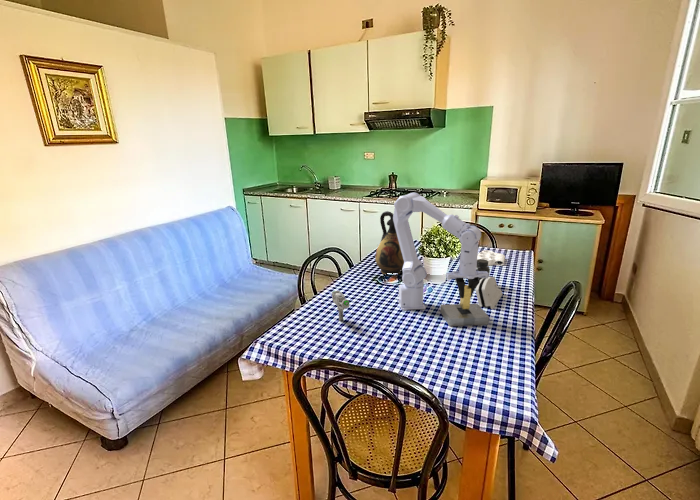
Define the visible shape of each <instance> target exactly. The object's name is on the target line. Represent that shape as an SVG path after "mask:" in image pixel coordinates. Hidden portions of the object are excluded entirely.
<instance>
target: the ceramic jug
mask: <svg viewBox="0 0 700 500" xmlns="http://www.w3.org/2000/svg"><path fill="white" fill-rule="evenodd" d="M393 214H394V212H392V211H388V210H387V211H384V212H382V213H381V214H380V216H379V217H380V219H379V222H380V226H381V230H382V236H381V239H380V242H379V244H378V246H377V248H376V250H375V257H374V258H375V264H376V266H377V267H378V268H379V269H380V273H382V274H383V275H384V274H387V273H392V274H393V273H398V274H399V275H400V274H401V271H402V268H403V265H404V260H403V256H402V252H401V248H400V244H399V241H398V237H397V233H396V229H395V225H394V221H393ZM385 217H389V219H388V220H387V222H386V223H385ZM386 225H387V226H388V229H387V227H386Z"/></svg>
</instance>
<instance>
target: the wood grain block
mask: <svg viewBox="0 0 700 500" xmlns="http://www.w3.org/2000/svg"><path fill="white" fill-rule="evenodd" d="M459 299H460V300H459V304H460V306H461V308H462V309H470V304H471V299H472V297H471V288H470V287H469V286H468V284H465V287H464V296H463V298H461V297H460V298H459Z"/></svg>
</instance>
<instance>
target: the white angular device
mask: <svg viewBox="0 0 700 500" xmlns="http://www.w3.org/2000/svg"><path fill="white" fill-rule="evenodd" d="M475 294H476V299H477V303H478V305H479V306H480V307H481V308H482V307H484V306H485V307H490V309H491V310H493V309H494V308H495V307H496V306H497V304H498V302H499V300H501V298H502V296H503V295H504V294H503V291H502V290H501V289H500V288H499V286H498V283H497V279H496V278H495V276H489V277H488V278H482V279H481V280H480V282H479V284H478V285H477V287H476V288H475Z"/></svg>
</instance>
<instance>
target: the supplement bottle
mask: <svg viewBox="0 0 700 500" xmlns="http://www.w3.org/2000/svg"><path fill="white" fill-rule="evenodd" d="M476 271H487V272H488V273H489V275H488V277H490V275H491V274H490V273H491V268H490V266H488V261H487V260H485V259H478V260H477V267H476ZM481 279H482V278H479V280H481Z"/></svg>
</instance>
